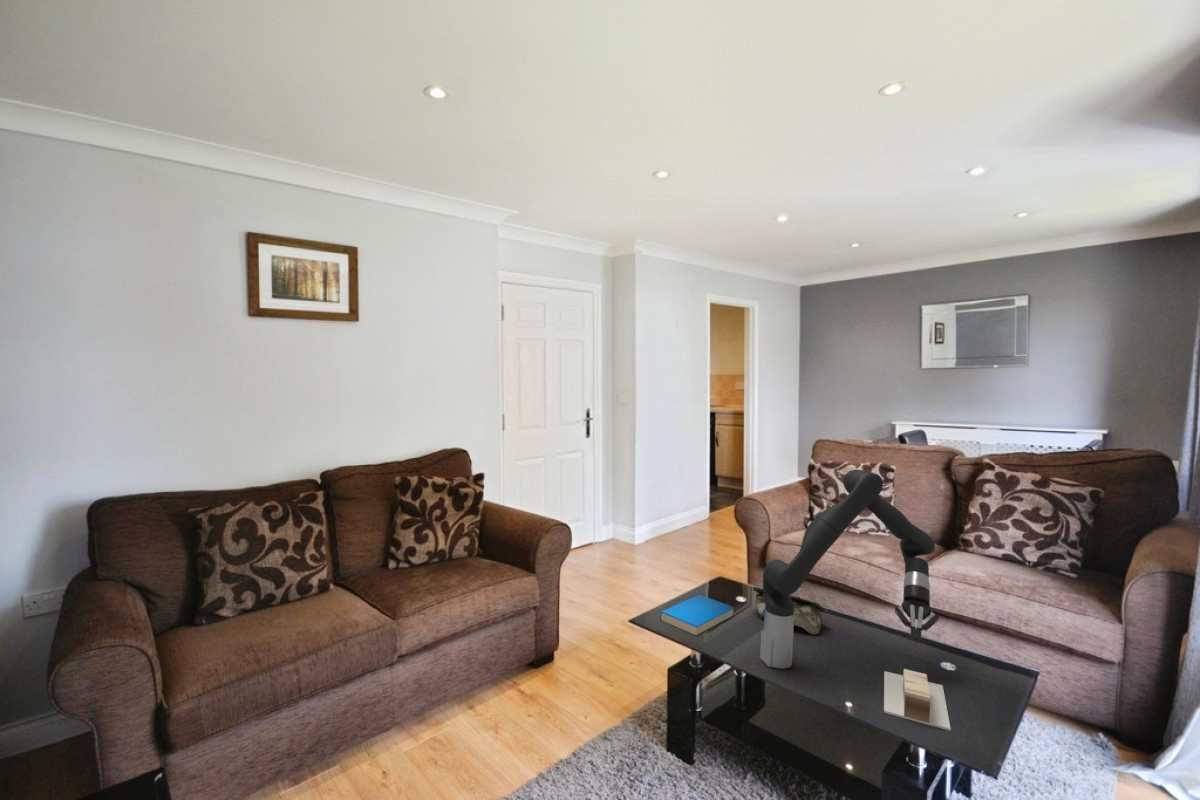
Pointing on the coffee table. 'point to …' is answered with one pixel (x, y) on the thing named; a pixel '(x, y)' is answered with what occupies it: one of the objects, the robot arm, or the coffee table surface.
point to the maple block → (916, 695)
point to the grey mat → (896, 706)
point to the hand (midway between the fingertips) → (916, 640)
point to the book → (697, 614)
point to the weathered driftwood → (798, 612)
